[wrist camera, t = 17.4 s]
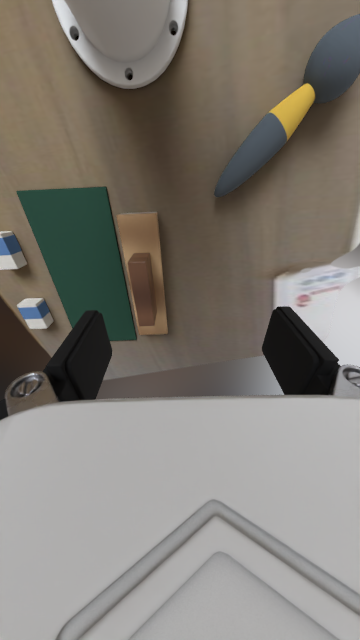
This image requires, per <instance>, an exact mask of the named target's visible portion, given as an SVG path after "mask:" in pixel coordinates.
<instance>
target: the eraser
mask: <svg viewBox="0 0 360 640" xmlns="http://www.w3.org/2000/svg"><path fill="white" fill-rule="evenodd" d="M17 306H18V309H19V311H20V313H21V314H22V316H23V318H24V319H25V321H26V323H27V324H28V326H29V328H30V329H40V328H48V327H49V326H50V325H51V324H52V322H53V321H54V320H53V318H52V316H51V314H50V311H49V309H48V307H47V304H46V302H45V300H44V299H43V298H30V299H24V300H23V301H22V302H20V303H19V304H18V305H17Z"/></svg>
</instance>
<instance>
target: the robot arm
mask: <svg viewBox="0 0 360 640" xmlns="http://www.w3.org/2000/svg"><path fill="white" fill-rule="evenodd" d="M52 2H53V6H54V9H55V11H56V14H57V16H58V19H59V21H60V24H61V26H62V29H63V30H64V32H65V34H66V36H67V38H68V40H69V41H70V43H71V45H72V47H73V48H74V49H75V51H76V52H77V54H78V55H79V57H80V58H81V59H82V60H83V62H84V63H85V64H86V65H87V66H88V67H89V69H90V70H91V71H92V72H94V73H95V74H96V75H97V76H98V77H99V78H101V79H102V80H104V81H106V82H107V83H109V84H111V85H113V86H116V87H120V88H123V89H136V88H140V87H143V86H146V85H148V84H149V83H151V82H153V81H155V80H156V79H157V78H158V77H159V76H160V75H161V74H162V73H163V72H164V71H165V70H166V68H167V67H168V65H169V64H170V62H171V61H172V59H173V57H174V55H175V53H176V50H177V48H178V46H179V44H180V40H181V37H182V33H183V30H184V26H185V20H186V14H187V8H188V0H52ZM173 30H174V31H175V32H176V35H171V32H172V31H173ZM76 36H79V39H78V40H77V41H76ZM129 75H132V76H133V77H132V80H129V79H128V77H129ZM262 351H263V354H264V356H265V358H266V359H267V361H268V363H269V365H270V367H271V369H272V371H273V373H274V375H275V377H276V379H277V381H278V383H279V385H280V386H281V389H282V391H283V393H284V394H285V395H249V396H203V397H202V396H199V397H158V398H126V399H125V398H123V399H98V400H95V399H96V396H97V394H98V391H99V388H100V386H101V383H102V380H103V378H104V375H105V372H106V370H107V367H108V364H109V362H110V359H111V356H112V348H111V344H110V341H109V337H108V333H107V330H106V326H105V322H104V319H103V315H102V313H99V312H98V311H97V310H86V311H85V312H84V313H83V315H82V316H81V318H80V319H79V320H78V322H77V323H76V325H75V326H74V327H73V329H72V330H71V332H70V333H69V335H68V336H67V337H66V339H65V340H64V342H63V343H62V344H61V346H60V347H59V349H58V350H57V351H56V353H55V354H54V356H53V357H52V358H51V360H50V361H49V363H48V364H47V366H46V368H45V369H44V370H43V372H40V371H35V372H30V373H27V374H25V375H23V376H21V377H19V378H17V379H16V380H15V381H13V382H12V383H11V384H10V385H9V386H8V388H7V390H6V391H5V399H3V400H1V401H0V640H360V367H358V366H354V365H343V366H340V365H338V363H337V362H338V361H339V359H338V358H337V357H335V355H334V354H333V353H332V352H331V351H330V350H329V349H328V348H327V346H325V344H324V343H323V342H322V341H321V340H320V339H319V338H318V337H317V336H316V335H315V333H314V332H313V331H312V330H311V329H310V328H309V327H308V326H307V325H306V324H305V323H304V322H303V320H302V319H301V318H300V317H299V316H298V315H297V314H296V313H295V312H294V311H293V310H292V309H291V308H290V307H277V308H276V309H274V310H273V312H272V315H271V318H270V322H269V325H268V329H267V332H266V335H265V339H264V342H263V346H262Z"/></svg>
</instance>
